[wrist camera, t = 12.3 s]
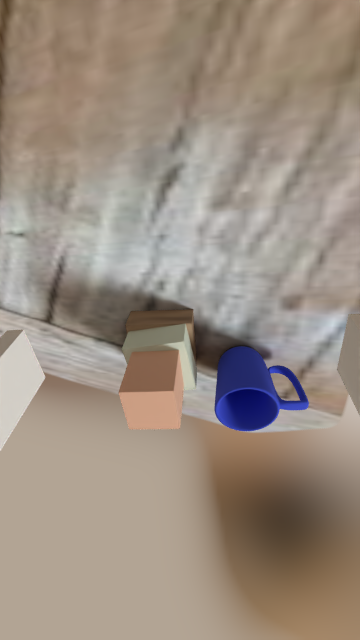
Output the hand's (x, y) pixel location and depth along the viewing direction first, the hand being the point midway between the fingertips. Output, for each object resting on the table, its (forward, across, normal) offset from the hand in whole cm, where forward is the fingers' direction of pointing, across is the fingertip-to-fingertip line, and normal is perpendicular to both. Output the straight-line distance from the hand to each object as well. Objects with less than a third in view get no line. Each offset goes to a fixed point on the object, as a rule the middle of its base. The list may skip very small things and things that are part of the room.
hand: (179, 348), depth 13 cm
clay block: (+20, -6, -19) cm, 29 cm away
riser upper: (+24, -6, -19) cm, 32 cm away
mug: (+28, +6, -25) cm, 38 cm away
